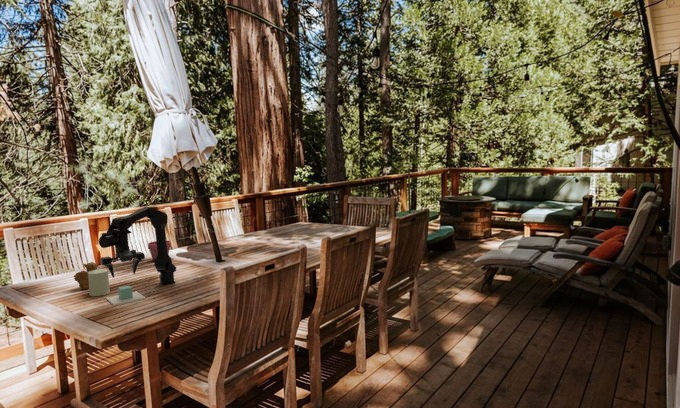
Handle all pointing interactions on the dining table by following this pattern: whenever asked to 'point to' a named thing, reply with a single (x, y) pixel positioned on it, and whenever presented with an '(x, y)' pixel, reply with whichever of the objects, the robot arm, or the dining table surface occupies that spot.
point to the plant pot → (153, 248)
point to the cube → (125, 292)
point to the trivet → (117, 301)
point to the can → (98, 282)
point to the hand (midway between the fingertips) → (123, 275)
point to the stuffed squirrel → (85, 275)
